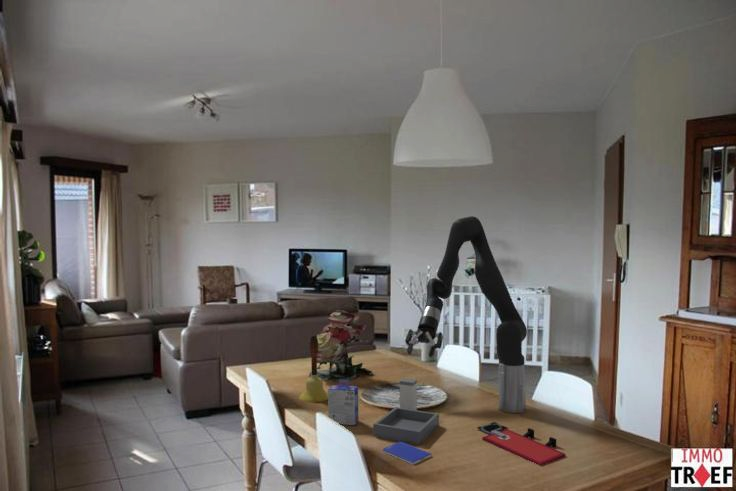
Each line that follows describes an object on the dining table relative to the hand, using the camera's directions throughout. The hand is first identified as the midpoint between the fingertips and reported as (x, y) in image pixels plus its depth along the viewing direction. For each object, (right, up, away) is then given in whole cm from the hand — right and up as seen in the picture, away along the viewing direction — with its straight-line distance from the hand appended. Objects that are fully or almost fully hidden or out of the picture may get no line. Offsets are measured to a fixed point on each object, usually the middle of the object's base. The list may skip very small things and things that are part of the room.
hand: (419, 355), depth 205 cm
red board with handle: (+27, -21, -37) cm, 50 cm away
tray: (-7, -20, -27) cm, 34 cm away
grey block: (-5, -19, -10) cm, 22 cm away
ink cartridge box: (-28, -20, -18) cm, 39 cm away
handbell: (-41, -19, +10) cm, 46 cm away
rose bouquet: (-34, -18, +42) cm, 57 cm away
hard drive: (-8, -21, -45) cm, 50 cm away
